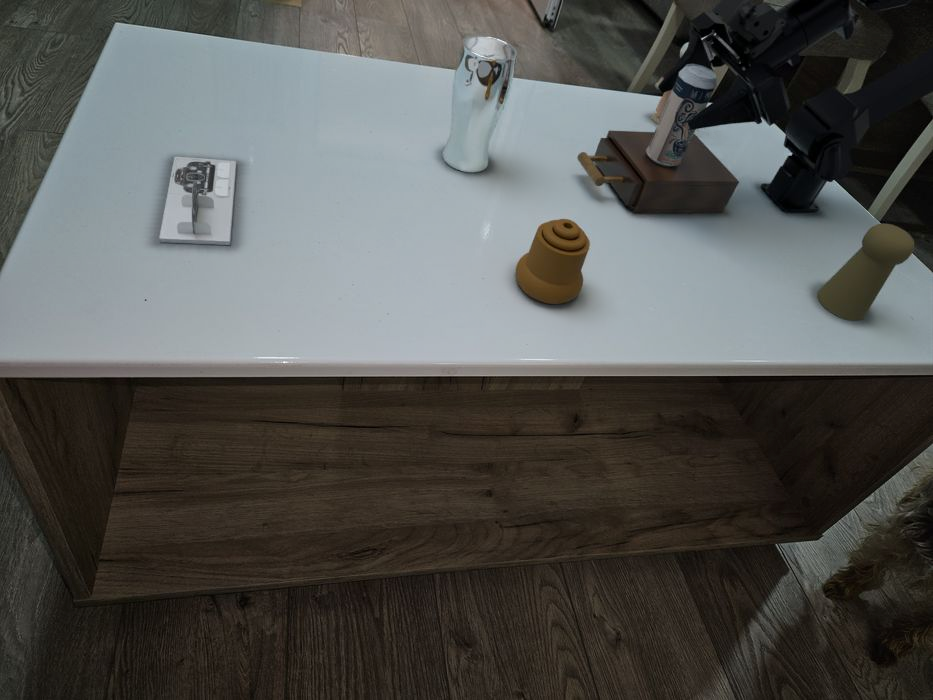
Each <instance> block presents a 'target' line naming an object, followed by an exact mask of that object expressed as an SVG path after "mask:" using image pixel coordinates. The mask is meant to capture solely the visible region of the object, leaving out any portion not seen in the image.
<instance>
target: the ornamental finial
mask: <svg viewBox="0 0 933 700" xmlns="http://www.w3.org/2000/svg"><path fill="white" fill-rule="evenodd" d="M590 247H591V242H590V239H589V238H588V236H587V234H586V233H585V231H584V230H583V229H582V228H581V227H580V226H579V225H578V224H577V222H575V221H574V220H571V219H568V218H559V219H553V220H549V221H546V222H543V223H541V224H540V225H539V226H538V227H537V229H536V232H535V234H534V237H533V240H532V242H531V245H530V247H529V250H528V252H526V253H525V254H524V255H522V256H521V257H520V258H519V260H518V262H517V263H516V266H515V278H516V282H517V284H518V286H519V287H520V288H521V290H522V291H523V292H524V293H525V294H526V295H527V296H529V297H530V298H532V299H534V300H536V301H538V302H541V303H545V304H550V305H560V304H565V303H569V302H570V301H572V300H574V299H575V298H576V297H578V295H580V293H581V291H582V289H583V285H584V276H583V272H582V269H583V267H584V263H585V261H586V258H587V255H588V252H589V251H590V250H589V249H590Z"/></svg>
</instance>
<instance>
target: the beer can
mask: <svg viewBox="0 0 933 700" xmlns="http://www.w3.org/2000/svg"><path fill="white" fill-rule="evenodd" d="M713 71H714V70H713ZM713 71H712V70H710V69H708V68H706V67H704V66H701V65H696V64H688V65H686V66H685V67H684V68H683V69H682V70H681V71H680V72H679V75H678V78H677V80H676V82H675V85H674V87H673V90H672V92H671V94H670V97H669V99H668V101H667V104H666V106H665V108H664V111H663V113H662V115H661V118H660V120H659V123H657V125H656V127H655V129H654V131H653V132H654V134H653V137H652V139H651V141H650V144H649V146H648V148H647V149H646V153H647V155H648V156H649V157H650V159H651V160H652V161H654V162H655V163H657V164H659V165H662V166H667V167H670V166H676V165H679V164H680V163H681V160H682V158H683V155H684V153H685V151H686V149H687V147H688V145H689V143H690V141H691V138H692V136H693V134H695V132H696V131H697V129H694V130H691V129H690V128H689V126H688V124H687V123H688V121H689V120H691V119H692V118H693V117H694V116H695V115H696V114H698V113H699V112H700V111H702V110H703V109H705V108H706V107H707V106H708V104H709V102H710V100H711V98H712V95H713V93H714V91H715V89H716V88H717V73H716V72H715V71H714V72H713Z"/></svg>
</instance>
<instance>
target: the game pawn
mask: <svg viewBox="0 0 933 700" xmlns="http://www.w3.org/2000/svg"><path fill="white" fill-rule="evenodd" d="M914 250H915V240H914V239H913V237H912V235H911V234H910V233H908V232H907V231H906V230H905V229H903V228H901V227H899V226H897V225H894V224H890V223H883V222H882V223H878V224H875V225H873V226H872V227H870V228H869V229H868V230H867V231H866V232H865V234H864V235H863V238H862V240H861V247H860V248H859V249H858V250H857V251H856V252H855V253H854V254H853V255H852V256H851V258H849V259H848V260H847V261H846V262H845V263H844V264H843V265H842V266H841V268H839V269H838V270H837V271H836V272H835V273H834V274H833V275H832V276H831V278H829V280H827V281H826V282H825V283H824V284H823V285H822V287H820V289H818V291H816V292H817V297H816V298H817V299H818V301H819V303H820V304H821V306H822V307H823V308H825V309H826V310H827V311H828V312H829V313H831V314H833V315H834V316H836V317H838V318H840V319H843V320H846V321H850V322H859V321H862V320H863V319H864V318H865V316H866V315H867V313H868V312H869V310H870V308H871V307H872V305H873V303H874V302H875V300H876V298H877V297H878V295H879V293H880V292H881V290H882V289H883V287H884V285H885V284H886V283H887V280H888V279H889V277H890V275H891V274H892V273H893V270H894V269H895V267H896V266H897V265H901V264H903V263H905V262H906V261H907V260H908V259H909V258H910V257H911V256H912V254H913V252H914Z"/></svg>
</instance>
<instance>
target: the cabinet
mask: <svg viewBox="0 0 933 700" xmlns="http://www.w3.org/2000/svg"><path fill="white" fill-rule="evenodd" d="M654 132H655V131H633V130H610V129H609V130H608V132H607V134H606V137H605V138H609V139H610V141H611V142H612V143H613V145H614V146H615V144H616V146H617V147H618V148H619V150H620V151H621V152H622V153H623V155H624V156H625V157H626V158H627V160H628V161H629V162H630V164H631V165H632V166H633V167H634V169H635V170H636V171H637V172H638V174H639V175H640V176H641V178H642V179H643V180H644V181H645V184H644V186H643V188H642V190H641V193H640V195H639V197H638V198H637V201H636V203H635V205H634V206H628V207H629V208H630V210H631V211H632V212H633V214H717V213H718V214H721V213H723V212H724V211H725V209H726V207H727V205H728V203H730V200H731V198H732V196H733V194H734V192H735V191H736V189H737V187H738V185H739V184H740V181H739V180H738V178H736V176H735V174H733V173H732V172H731V171H730V170H729V169H728V168H727V166H725V165H724V163H723V162H722V161H721V160H720V159H719V158H718V157H717V156H716V155H715V154H714V153H713V152H712V151H711V150H710V148H708V147H707V146H706V144H705V143H704V142H703V141H702V140H701V139H700V138H699V137H698V136H697V135H696V134H695V133H694V134H693V136H692V138H691V141H690V143H689V145H688V147H687V149H686V151H685V153H684V155H683V158H682V160H681V163H680V164H679V165H676V166H670V167H667V166H662V165H659V164H657V163H655V162H654V161H652V160H651V159H650V157H649V156H648V155H647V153H646V149H647V148H648V146H649V144H650V141H651V139H652V137H653V134H654Z"/></svg>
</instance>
